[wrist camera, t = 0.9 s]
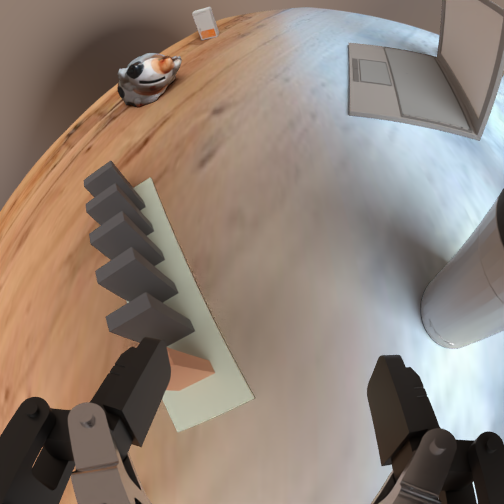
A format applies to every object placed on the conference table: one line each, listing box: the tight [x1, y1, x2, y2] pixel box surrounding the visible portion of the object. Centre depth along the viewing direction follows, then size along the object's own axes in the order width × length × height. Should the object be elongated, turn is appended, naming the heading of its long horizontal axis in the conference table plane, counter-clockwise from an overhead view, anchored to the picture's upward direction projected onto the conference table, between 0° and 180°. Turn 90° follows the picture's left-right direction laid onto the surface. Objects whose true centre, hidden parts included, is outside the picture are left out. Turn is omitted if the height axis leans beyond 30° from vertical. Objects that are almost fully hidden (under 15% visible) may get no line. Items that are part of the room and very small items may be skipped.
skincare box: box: [192, 7, 219, 40], centre depth 72 cm, size 6×4×12 cm
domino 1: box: [84, 161, 146, 210], centre depth 39 cm, size 2×5×10 cm, turn 118°
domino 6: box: [166, 347, 215, 391], centre depth 25 cm, size 2×5×10 cm, turn 118°
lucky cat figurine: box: [118, 53, 181, 107], centre depth 56 cm, size 17×14×16 cm
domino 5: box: [106, 292, 195, 346], centre depth 28 cm, size 2×5×10 cm, turn 118°
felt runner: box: [126, 177, 255, 432], centre depth 36 cm, size 38×10×1 cm, turn 28°
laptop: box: [349, 0, 504, 141], centre depth 35 cm, size 35×26×27 cm
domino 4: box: [95, 247, 178, 303], centre depth 31 cm, size 2×5×10 cm, turn 118°
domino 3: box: [89, 211, 165, 266], centre depth 33 cm, size 2×5×10 cm, turn 118°
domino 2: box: [86, 183, 154, 236], centre depth 36 cm, size 2×5×10 cm, turn 118°
